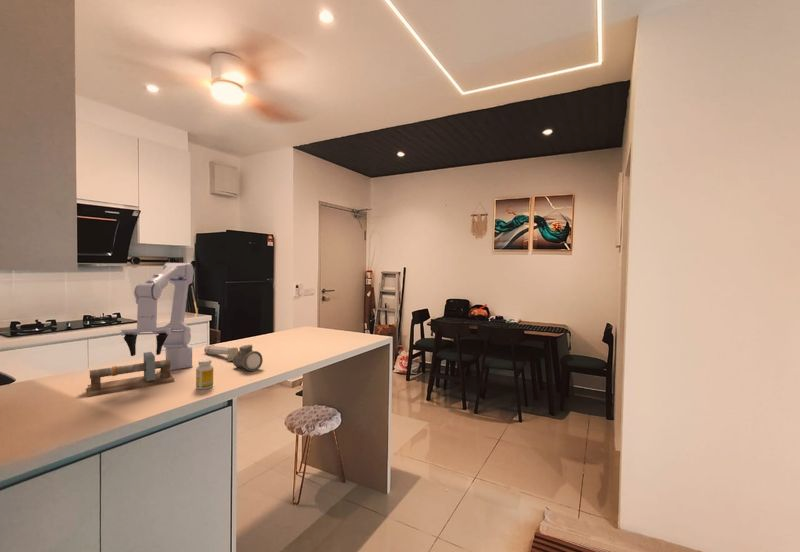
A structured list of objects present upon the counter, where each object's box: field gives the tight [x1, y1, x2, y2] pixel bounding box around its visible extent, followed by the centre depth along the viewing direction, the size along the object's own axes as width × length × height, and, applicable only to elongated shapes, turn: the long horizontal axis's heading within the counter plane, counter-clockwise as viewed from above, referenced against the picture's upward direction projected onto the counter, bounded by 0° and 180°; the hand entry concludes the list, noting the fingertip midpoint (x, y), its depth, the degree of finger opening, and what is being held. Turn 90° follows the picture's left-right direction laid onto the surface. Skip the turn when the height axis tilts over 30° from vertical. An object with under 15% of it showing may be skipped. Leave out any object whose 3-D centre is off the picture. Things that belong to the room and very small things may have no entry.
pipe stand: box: [87, 359, 175, 397], centre depth 128 cm, size 24×11×7 cm, turn 132°
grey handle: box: [203, 344, 239, 362], centre depth 168 cm, size 5×7×25 cm
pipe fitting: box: [232, 344, 263, 372], centre depth 150 cm, size 12×8×10 cm
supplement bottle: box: [195, 358, 214, 390], centre depth 127 cm, size 5×5×10 cm
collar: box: [143, 351, 156, 381], centre depth 132 cm, size 2×9×9 cm, turn 42°
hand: (145, 355), depth 127 cm, fingers open, 7 cm apart
